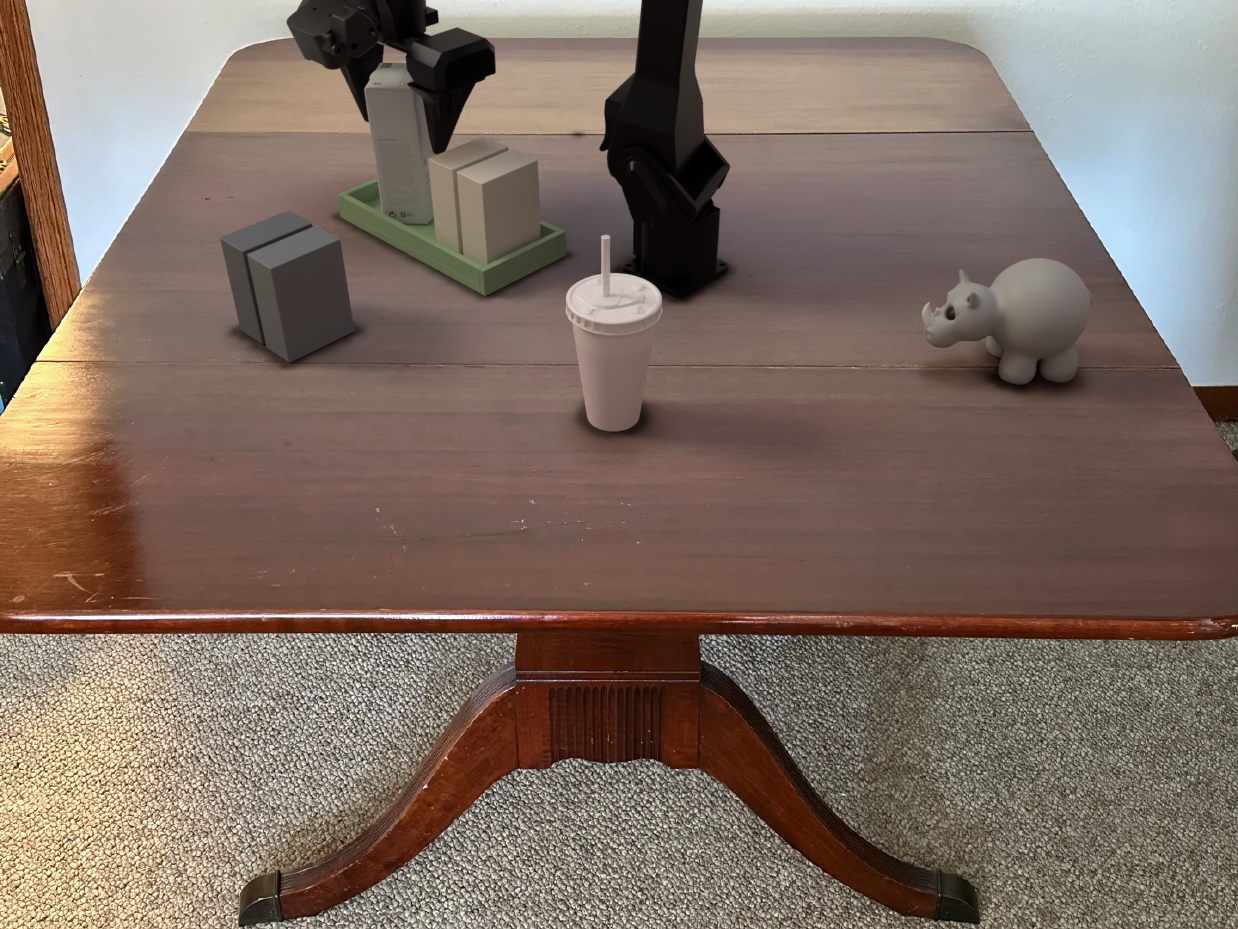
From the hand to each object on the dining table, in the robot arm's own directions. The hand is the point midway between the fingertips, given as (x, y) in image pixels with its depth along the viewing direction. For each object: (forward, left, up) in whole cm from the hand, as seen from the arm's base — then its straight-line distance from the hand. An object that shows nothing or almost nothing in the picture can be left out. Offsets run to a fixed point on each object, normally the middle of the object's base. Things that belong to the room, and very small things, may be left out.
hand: (404, 136), depth 103 cm
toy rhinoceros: (-49, -15, -8) cm, 52 cm away
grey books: (-8, +18, -8) cm, 21 cm away
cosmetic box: (0, 0, -7) cm, 7 cm away
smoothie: (-33, +9, -8) cm, 35 cm away
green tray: (-5, 0, -8) cm, 9 cm away
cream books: (-10, 0, -8) cm, 13 cm away
